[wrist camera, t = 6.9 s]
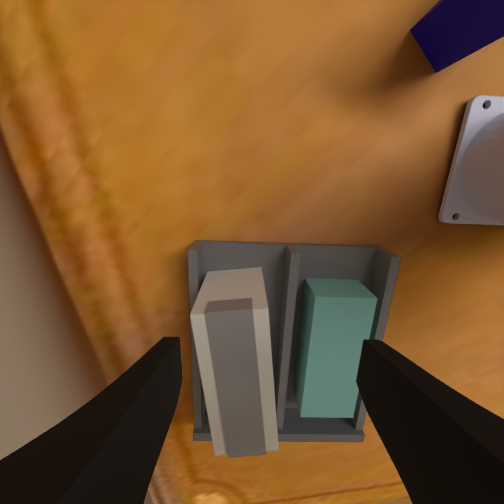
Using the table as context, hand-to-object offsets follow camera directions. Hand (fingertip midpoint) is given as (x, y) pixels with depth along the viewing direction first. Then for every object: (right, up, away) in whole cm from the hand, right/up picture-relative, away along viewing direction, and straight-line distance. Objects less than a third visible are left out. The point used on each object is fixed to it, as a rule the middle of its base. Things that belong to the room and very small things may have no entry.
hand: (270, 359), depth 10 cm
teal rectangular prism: (+5, -3, +10) cm, 12 cm away
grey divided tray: (+2, -2, +11) cm, 11 cm away
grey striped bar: (-2, -2, +10) cm, 10 cm away
